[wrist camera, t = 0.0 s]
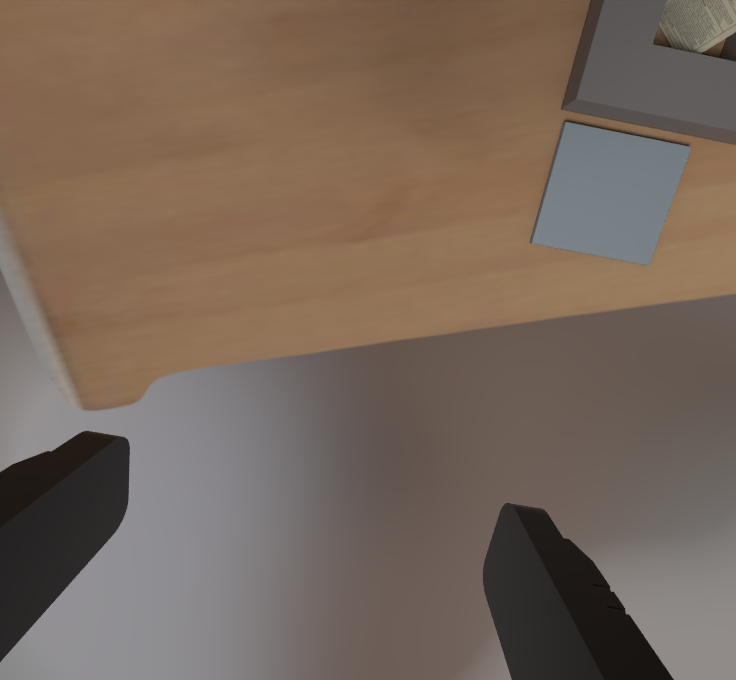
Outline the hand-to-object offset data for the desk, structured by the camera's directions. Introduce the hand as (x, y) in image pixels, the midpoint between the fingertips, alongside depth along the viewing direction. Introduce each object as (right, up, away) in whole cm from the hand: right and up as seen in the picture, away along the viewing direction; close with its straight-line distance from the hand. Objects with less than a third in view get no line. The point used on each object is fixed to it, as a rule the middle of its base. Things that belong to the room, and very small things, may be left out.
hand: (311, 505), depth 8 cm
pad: (+22, +16, +26) cm, 38 cm away
